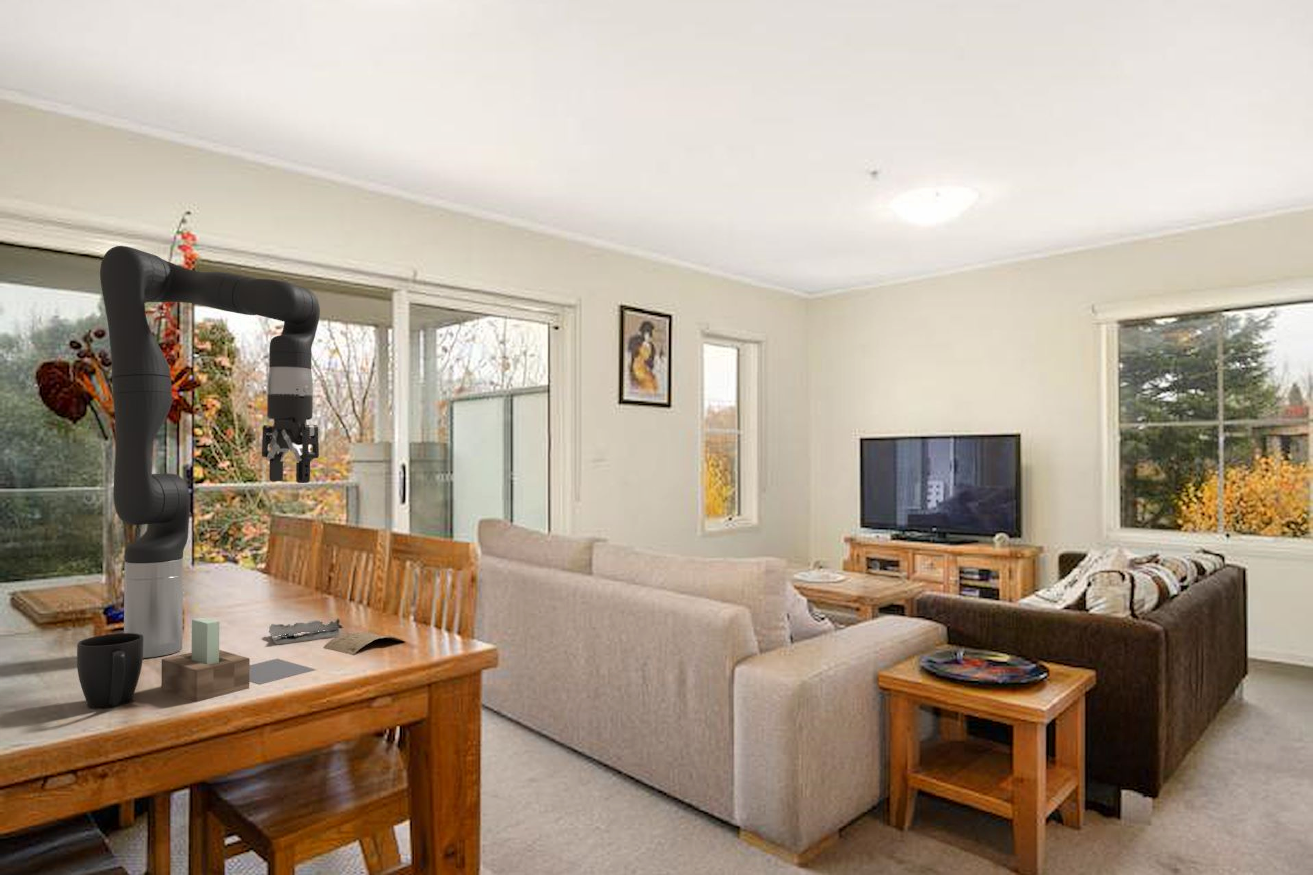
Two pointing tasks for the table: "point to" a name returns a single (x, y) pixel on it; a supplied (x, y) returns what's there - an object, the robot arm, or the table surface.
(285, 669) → the mat
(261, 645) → the table surface
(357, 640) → the brown curved sheet
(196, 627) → the tall mint green block
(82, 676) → the mug
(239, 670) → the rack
